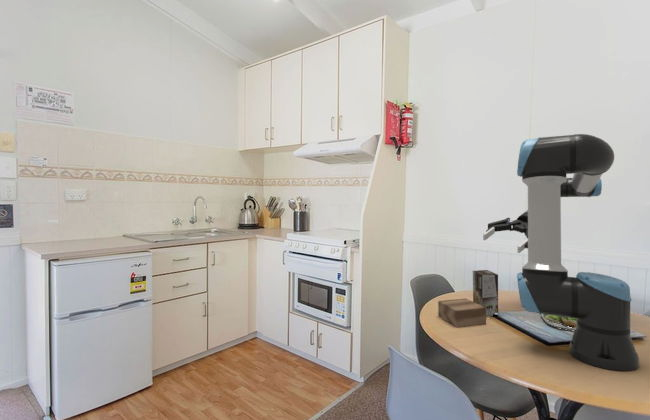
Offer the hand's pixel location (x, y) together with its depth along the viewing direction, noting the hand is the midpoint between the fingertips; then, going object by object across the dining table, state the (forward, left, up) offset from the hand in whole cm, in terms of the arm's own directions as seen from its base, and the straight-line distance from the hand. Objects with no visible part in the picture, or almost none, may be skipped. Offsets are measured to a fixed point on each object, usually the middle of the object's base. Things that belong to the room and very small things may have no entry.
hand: (500, 243), depth 130 cm
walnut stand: (+1, +16, -28) cm, 33 cm away
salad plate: (-12, -19, -29) cm, 36 cm away
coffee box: (+6, +2, -28) cm, 29 cm away
